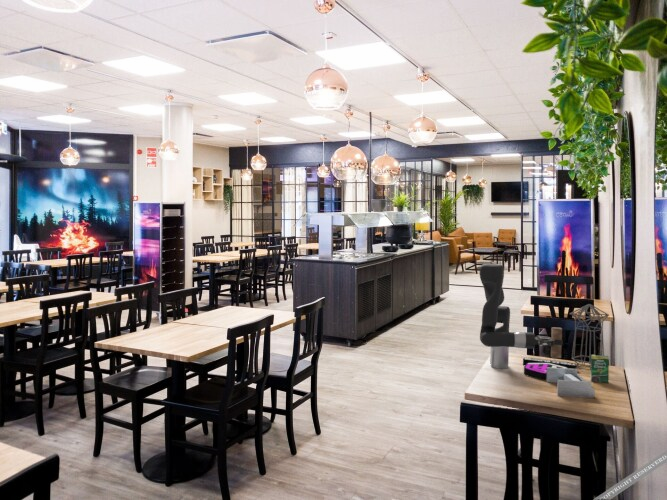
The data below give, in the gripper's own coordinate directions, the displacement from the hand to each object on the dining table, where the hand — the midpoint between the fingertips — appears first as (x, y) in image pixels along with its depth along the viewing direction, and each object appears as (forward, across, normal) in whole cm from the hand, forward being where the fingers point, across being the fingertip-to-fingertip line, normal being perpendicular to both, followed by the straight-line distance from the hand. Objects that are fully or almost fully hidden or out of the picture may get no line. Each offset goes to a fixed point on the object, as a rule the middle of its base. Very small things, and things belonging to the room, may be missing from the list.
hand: (561, 341), depth 250 cm
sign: (0, +28, +23) cm, 36 cm away
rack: (+3, 0, +22) cm, 23 cm away
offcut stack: (+5, -1, +23) cm, 23 cm away
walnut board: (-2, 0, +8) cm, 8 cm away
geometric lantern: (+25, +42, +22) cm, 53 cm away
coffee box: (+22, +16, +22) cm, 35 cm away
